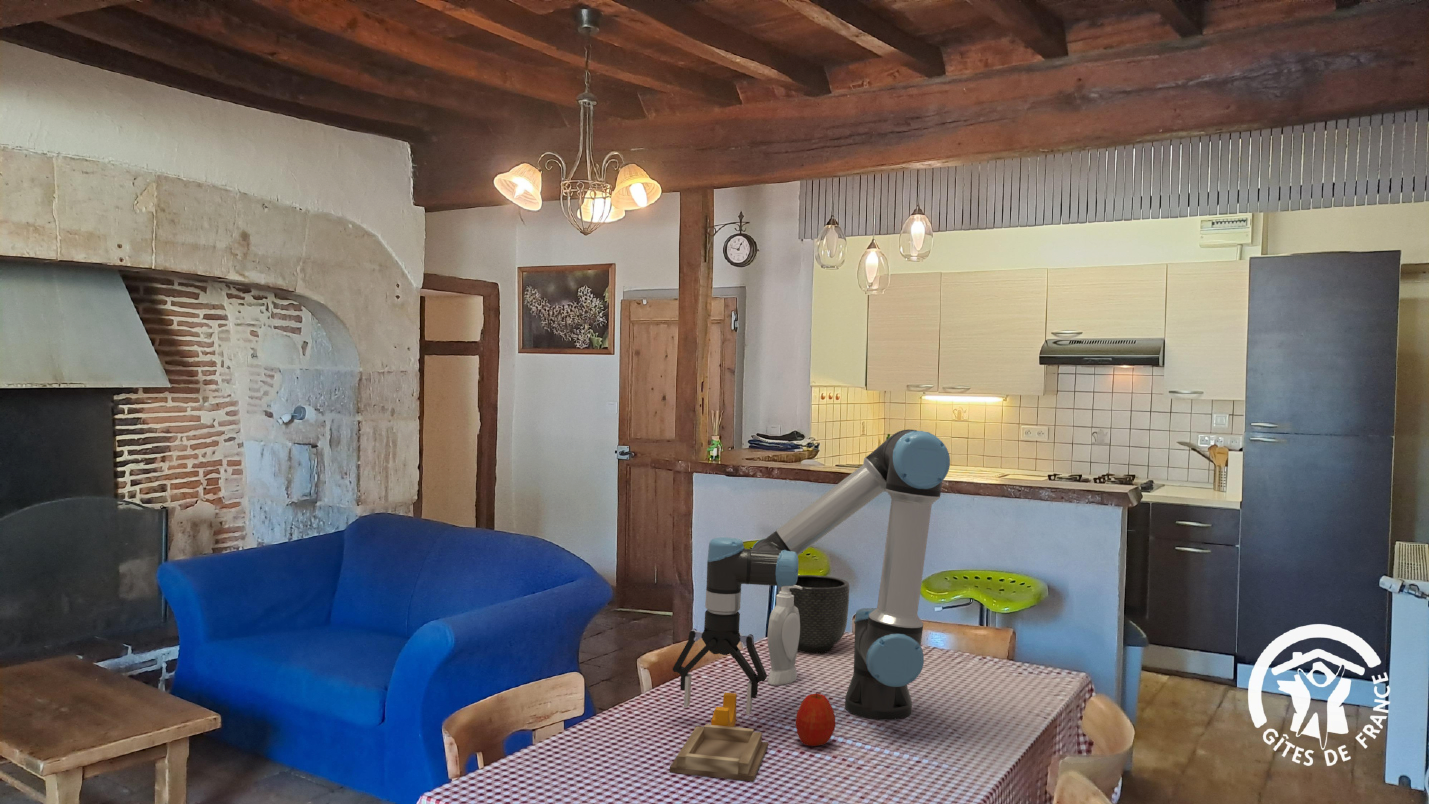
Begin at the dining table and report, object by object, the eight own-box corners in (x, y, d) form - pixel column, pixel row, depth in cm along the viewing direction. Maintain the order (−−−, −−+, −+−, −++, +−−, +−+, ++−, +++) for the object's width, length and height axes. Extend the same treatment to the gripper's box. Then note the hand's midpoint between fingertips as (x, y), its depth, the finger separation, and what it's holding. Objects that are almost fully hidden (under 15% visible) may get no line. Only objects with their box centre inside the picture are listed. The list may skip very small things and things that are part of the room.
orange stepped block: (716, 721, 212) (717, 691, 212) (735, 723, 211) (736, 693, 211) (706, 740, 200) (707, 709, 200) (726, 742, 199) (727, 711, 199)
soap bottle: (783, 691, 234) (786, 590, 234) (758, 684, 239) (761, 585, 239) (814, 680, 244) (817, 583, 244) (789, 673, 249) (792, 578, 249)
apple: (824, 754, 194) (825, 700, 193) (787, 745, 198) (788, 693, 198) (841, 742, 201) (842, 690, 200) (805, 734, 205) (806, 683, 205)
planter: (774, 655, 266) (776, 585, 266) (781, 637, 286) (782, 573, 285) (846, 660, 263) (848, 590, 263) (848, 642, 282) (850, 577, 282)
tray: (767, 747, 197) (768, 730, 197) (753, 781, 179) (754, 763, 179) (691, 739, 200) (691, 722, 200) (669, 772, 182) (670, 754, 182)
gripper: (782, 612, 210) (777, 709, 210) (670, 601, 215) (665, 697, 215) (777, 619, 202) (772, 721, 203) (662, 608, 207) (657, 707, 208)
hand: (717, 709), depth 209 cm, fingers open, 13 cm apart
